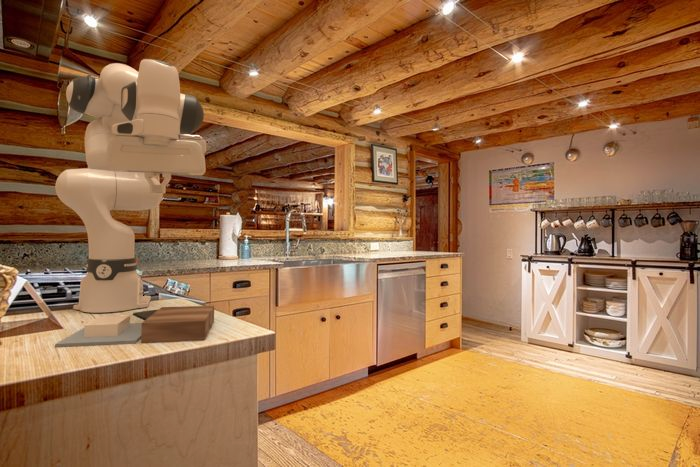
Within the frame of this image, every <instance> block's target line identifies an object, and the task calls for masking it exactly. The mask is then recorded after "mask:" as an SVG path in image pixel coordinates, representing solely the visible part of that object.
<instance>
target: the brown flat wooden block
mask: <svg viewBox="0 0 700 467" xmlns="http://www.w3.org/2000/svg"><path fill="white" fill-rule="evenodd" d="M157 310H158V311H156V312H155V313H154V314H152V315H151V316H150V317H149V318H147V319H146V320H143V321H142V322H141V323H142V329H141V339H140V343H141V344H148V343H149V344H150V343H167V342H168V343H170V342H173V343H174V342H190V341H191V342H192V341H206V339H207V337H208V334H209V333H210V330H211V328H212V326H213V325H214V323H215V305H191V306H189V305H187V306H185V305H184V306H162V307H160V308H158V309H157Z"/></svg>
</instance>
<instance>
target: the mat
mask: <svg viewBox="0 0 700 467" xmlns="http://www.w3.org/2000/svg"><path fill="white" fill-rule="evenodd" d="M84 328H85V327H83V328H82V329H80V330H77V331H76V332H74V333H72V334H70V335H69V336H67V337H65V338H63V339H61V340H59V341H58V342H56V343H55V344H54V347H55V348H64V347H83V346H87V347H88V346H107V345H108V346H109V345H126V344H127V345H129V344H132V345H133V344H137V343H138V342H139V341H141V329H142V322H130V327H129V328H127V329H126V330H125V331H123V332H122V333H121V334H120V335H118V336H109V337H87V338H84Z"/></svg>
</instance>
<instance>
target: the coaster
mask: <svg viewBox="0 0 700 467" xmlns="http://www.w3.org/2000/svg"><path fill="white" fill-rule="evenodd" d="M130 323H131V315H110V316H109V315H106V316H105V315H104V316H101V315H100V316H99V317H97V318H95V319H93V320H91V321H90V322H88V323H86V324H84V327H83V328H84V338H87V337H109V336H118V335H120V334H121V333H122V332H123V331H125V330H126V329H127V328H129V327H130Z"/></svg>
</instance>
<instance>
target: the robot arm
mask: <svg viewBox="0 0 700 467" xmlns="http://www.w3.org/2000/svg"><path fill="white" fill-rule="evenodd" d="M180 87H181V85H180V76H179V71H178V69H177V67H175V66H174V64H173V65H172V64H171V63H169V62H166V61H162V60H160V59H153V58H143V59H142V60H141V61H140V63H139V68H138V70H136V69H135V68H133V67H131V66H129V65H127V64H125V63H120V62H119V63H118V62H115V63H114V62H112V63H109V64H108V65H107V64H106V66H104V67H103V68H102V69H101V72H100V75H99V78H96V77H92V75H91V74H87V75H86V76H78V77H74V78H73V79H71V81H70V82H69V84H68V85H67V87H66V90H65V91H66V92H65V96H66V100H67V104H68V106H69V108H70V109H71V110H73V111H75V112H77V113H79V114H82V115H83V114H85V115H88V116H90V117H93V118H96V119H94V120H92V121H91V122H89V123H88V125H87V126H86V130H85V133H84V152H85V162H86V164H87V166H88V168H85V167H84V168H69V169H65V170H63V171H62V172H61V173H60V174H58V177H57V179H56V181H55V185H54V187H55V193H56V196H57V198H58V199H59V200H60V202H62V203H63V205H65V206H67V207H69V208H70V209H71V210H73V211H74V212H75V214H77V216H79V218H80V219H81V220H82V222H83V224H84V226H85V229H86V234H87V239H88V240H87V242H88V258H87V259H86V264H85V267H86V272H87V274H86V275H85V276H84V277H82V279H81V280H80V288H79V296H78V304H74V305H73V307H72V310H76V311H77V310H78V311H81V312H84V313H95V314H96V313H115V312H125V311H129V310H133V309H134V310H135V309H143V308H148V307H149V305H150V303H151V301H152V300H151V299H152V297H151V295H144V294H145V291H144V281H143V280H142V279H141V277H140V275H139V273H138V272H137V269H138V263H139V262H138V258H137V257H135V246H136V245H135V240H136V234H135V232H134V230H133V229H132V227H131V226H129V225H127V224H126V223H125V224H124V223H123V222H121V221H118V220H116V219H114V217H112V215H111V211H117V210H118V211H134V212H135V211H136V212H139V211H149V210H154V209H156V208H157V207H158V206H159V205H160V204H161V203H162V200H163V196H164V194H166V191H167V190H166V187H167V185H168V184H169V183H170V181H171V180H172V175H181V176H182V175H184V176H185V175H187V176H203V175H204V174H205V173H206V158H205V154H206V153H207V150H208V143H207V140H206V139H205V138H204V137H202V136H200V135H199V134H193V133H194V132H196V131H198V130H199V129H200V128H201V127H202V125H203V123H204V122H203V121H204V117H205V116H204V115H205V114H204V108H203V105H202V104H201V102H200V101H199V99H198V98H197V97H196V96H195V95H192V94H187V93H182V92H181V88H180ZM154 174H161V175H162V178H164V179H163V181H162V182H160V181H159V180H158V179H157V178H156V177H155V175H154ZM143 295H144V296H143Z"/></svg>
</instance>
